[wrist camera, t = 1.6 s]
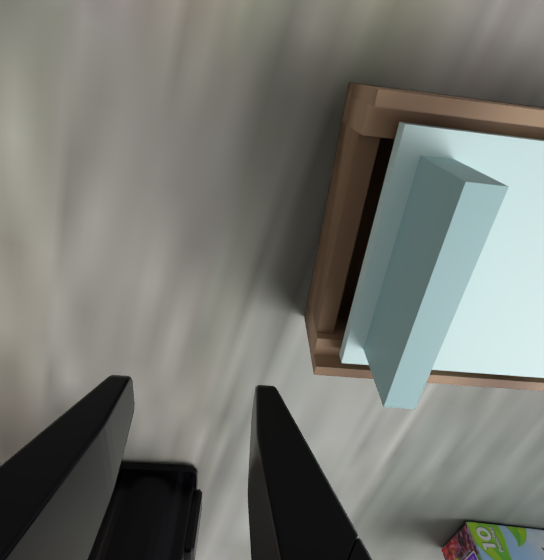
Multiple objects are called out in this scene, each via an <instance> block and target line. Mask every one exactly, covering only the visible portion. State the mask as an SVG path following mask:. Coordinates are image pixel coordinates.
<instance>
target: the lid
mask: <svg viewBox="0 0 544 560" xmlns="http://www.w3.org/2000/svg"><path fill="white" fill-rule="evenodd" d="M339 356H340V359H341V363H347V364H361V365H369V367H370V370H371V372H372V375H373V378H374V381H375V384H376V387H377V389H378V392H379V395H380V398H381V401H382V404H383V406H384V407H391V408H407V409H415V408H416V406H417V403H418V401H419V398H420V396H421V394H422V391H423V389H424V387H425V384H426V382H427V379H428V377H429V375H430V372H431V370H442V371H456V372H469V373H483V374H496V375H510V376H524V377H537V378H544V140H543V139H535V138H527V137H519V136H511V135H503V134H495V133H487V132H479V131H471V130H462V129H454V128H446V127H438V126H430V125H422V124H414V123H406V122H399V125H398V129H397V133H396V137H395V141H394V144H393V148H392V152H391V156H390V160H389V164H388V168H387V171H386V175H385V179H384V183H383V187H382V191H381V195H380V198H379V202H378V206H377V210H376V214H375V218H374V222H373V226H372V229H371V233H370V237H369V241H368V245H367V249H366V253H365V256H364V260H363V264H362V268H361V272H360V276H359V280H358V283H357V287H356V291H355V295H354V299H353V303H352V307H351V311H350V314H349V318H348V322H347V326H346V330H345V334H344V338H343V341H342V345H341V349H340V353H339Z"/></svg>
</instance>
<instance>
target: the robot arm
mask: <svg viewBox="0 0 544 560" xmlns="http://www.w3.org/2000/svg"><path fill="white" fill-rule="evenodd" d="M133 413H134V393H133V382H132V379H131V377H129V376H121V375H111V376H109V377H108V378H106V379H105V380H104V381H103V382H102V383H100V384H99V385H98V386H97V387H95V388H94V389H93V390H92V391H91V392H89V393H88V394H87V395H86V396H85V397H83V398H82V399H81V400H80V401H79V402H77V403H76V404H75V405H74V406H73V407H71V408H70V409H69V410H68V411H67V412H65V413H64V414H63V415H62V416H60V417H59V418H58V419H57V420H56V421H54V422H53V423H52V424H51V425H50V426H48V427H47V428H46V429H45V430H44V431H42V432H41V433H40V434H39V435H38V436H36V437H35V438H34V439H33V440H32V441H30V442H29V443H28V444H27V445H25V446H24V447H23V448H22V449H21V450H19V451H18V452H17V453H16V454H15V455H13V456H12V457H11V458H10V459H9V460H7V461H6V462H5V463H4V464H3V465H1V466H0V560H195V555H196V547H197V540H198V533H199V525H200V518H201V510H202V492H201V490H200V489H197V469H196V468H194V467H187V466H168V465H148V464H129V463H121V460H122V456H123V453H124V449H125V445H126V441H127V437H128V433H129V429H130V425H131V422H132V418H133ZM248 509H249V525H250V542H251V558H252V560H372V558H371V557H370V555H369V553H368V551H367V549H366V548H365V546H364V544H363V542H362V540H361V539H360V538H358V539H357V536H358V534H357V532H356V530H355V528H354V527H353V525H352V523H351V521H350V519H349V518H348V516H347V514H346V512H345V510H344V509H343V507H342V505H341V503H340V501H339V500H338V498H337V496H336V494H335V493H334V491H333V489H332V487H331V485H330V484H329V482H328V480H327V478H326V476H325V475H324V473H323V471H322V469H321V467H320V466H319V464H318V462H317V460H316V459H315V457H314V455H313V453H312V451H311V450H310V448H309V446H308V444H307V442H306V441H305V439H304V437H303V435H302V433H301V432H300V430H299V428H298V426H297V424H296V423H295V421H294V419H293V417H292V416H291V414H290V412H289V410H288V408H287V407H286V405H285V403H284V401H283V399H282V398H281V396H280V394H279V392H278V390H277V389H276V388H275V387H274V386H266V385H258V386H257V387H256V389H255V395H254V403H253V410H252V421H251V439H250V458H249V477H248Z"/></svg>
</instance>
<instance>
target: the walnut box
mask: <svg viewBox="0 0 544 560" xmlns="http://www.w3.org/2000/svg"><path fill="white" fill-rule="evenodd" d="M399 122H406V123H414V124H422V125H430V126H438V127H446V128H454V129H462V130H471V131H479V132H487V133H495V134H503V135H511V136H519V137H527V138H535V139H543V140H544V108H542V107H534V106H526V105H519V104H511V103H503V102H496V101H488V100H480V99H473V98H465V97H457V96H450V95H442V94H434V93H427V92H419V91H411V90H404V89H396V88H388V87H381V86H373V85H365V84H357V83H350V82H349V86H348V92H347V97H346V102H345V107H344V113H343V118H342V123H341V128H340V134H339V139H338V144H337V149H336V155H335V160H334V165H333V170H332V176H331V181H330V186H329V192H328V197H327V202H326V207H325V213H324V218H323V223H322V228H321V234H320V239H319V244H318V249H317V255H316V260H315V265H314V270H313V276H312V281H311V286H310V291H309V297H308V302H307V307H306V312H305V323H306V329H307V335H308V341H309V347H310V353H311V359H312V365H313V371H314V375H326V376H341V377H355V378H369V379H374V378H373V375H372V372H371V370H370V367H369V365H361V364H347V363H341V359H340V356H339V353H340V349H341V345H342V341H343V338H344V334H345V330H346V326H347V322H348V318H349V314H350V311H351V307H352V303H353V299H354V295H355V291H356V287H357V283H358V280H359V276H360V272H361V268H362V264H363V260H364V256H365V253H366V249H367V245H368V241H369V237H370V233H371V229H372V226H373V222H374V218H375V214H376V210H377V206H378V202H379V198H380V195H381V191H382V187H383V183H384V179H385V175H386V171H387V168H388V164H389V160H390V156H391V152H392V148H393V144H394V141H395V137H396V133H397V129H398V125H399ZM426 383H439V384H453V385H468V386H482V387H496V388H510V389H524V390H538V391H544V378H537V377H524V376H510V375H496V374H483V373H469V372H456V371H442V370H431V372H430V375H429V377H428V379H427V382H426Z"/></svg>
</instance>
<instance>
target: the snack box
mask: <svg viewBox="0 0 544 560" xmlns="http://www.w3.org/2000/svg"><path fill="white" fill-rule="evenodd" d="M442 552H443V555H444V558H445V560H544V530H539V529H529V528H520V527H510V526H502V525H493V524H484V523H476V522H466V524H465V525H464V527H463V528H462V529H461V530H460V531H458V533H457V534H456V535H455V536H454V537H453V538H452V539H451V540H450V541H449V542H448V543H447V544H446V545H445V546H444V547H443V548H442Z"/></svg>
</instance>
